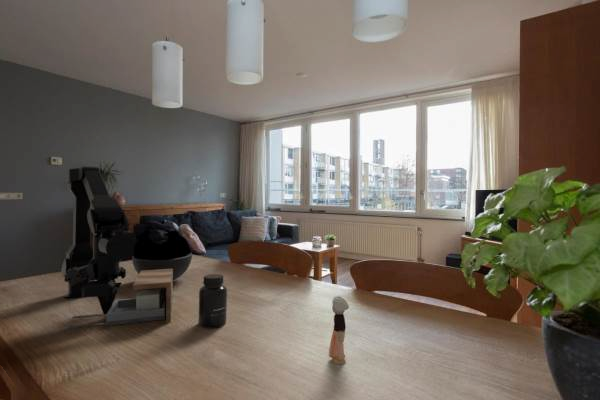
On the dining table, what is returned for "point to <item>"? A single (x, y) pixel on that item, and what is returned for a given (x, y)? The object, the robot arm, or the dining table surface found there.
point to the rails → (88, 324)
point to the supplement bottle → (212, 302)
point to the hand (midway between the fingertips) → (106, 313)
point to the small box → (148, 299)
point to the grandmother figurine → (338, 330)
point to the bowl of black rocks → (162, 254)
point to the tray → (133, 312)
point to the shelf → (158, 285)
